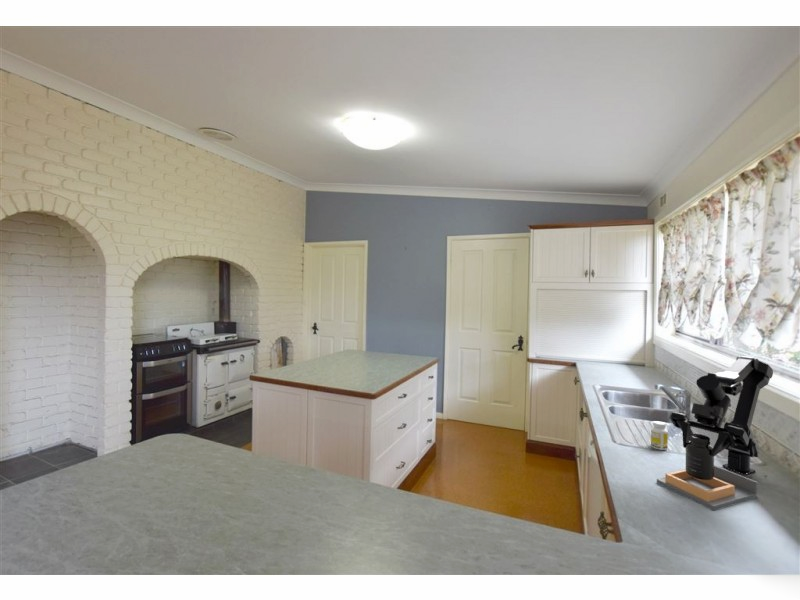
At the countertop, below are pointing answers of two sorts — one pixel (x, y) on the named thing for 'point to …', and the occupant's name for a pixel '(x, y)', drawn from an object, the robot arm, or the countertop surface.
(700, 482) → the housing
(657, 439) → the supplement bottle
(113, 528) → the countertop surface
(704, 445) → the supplement bottle
